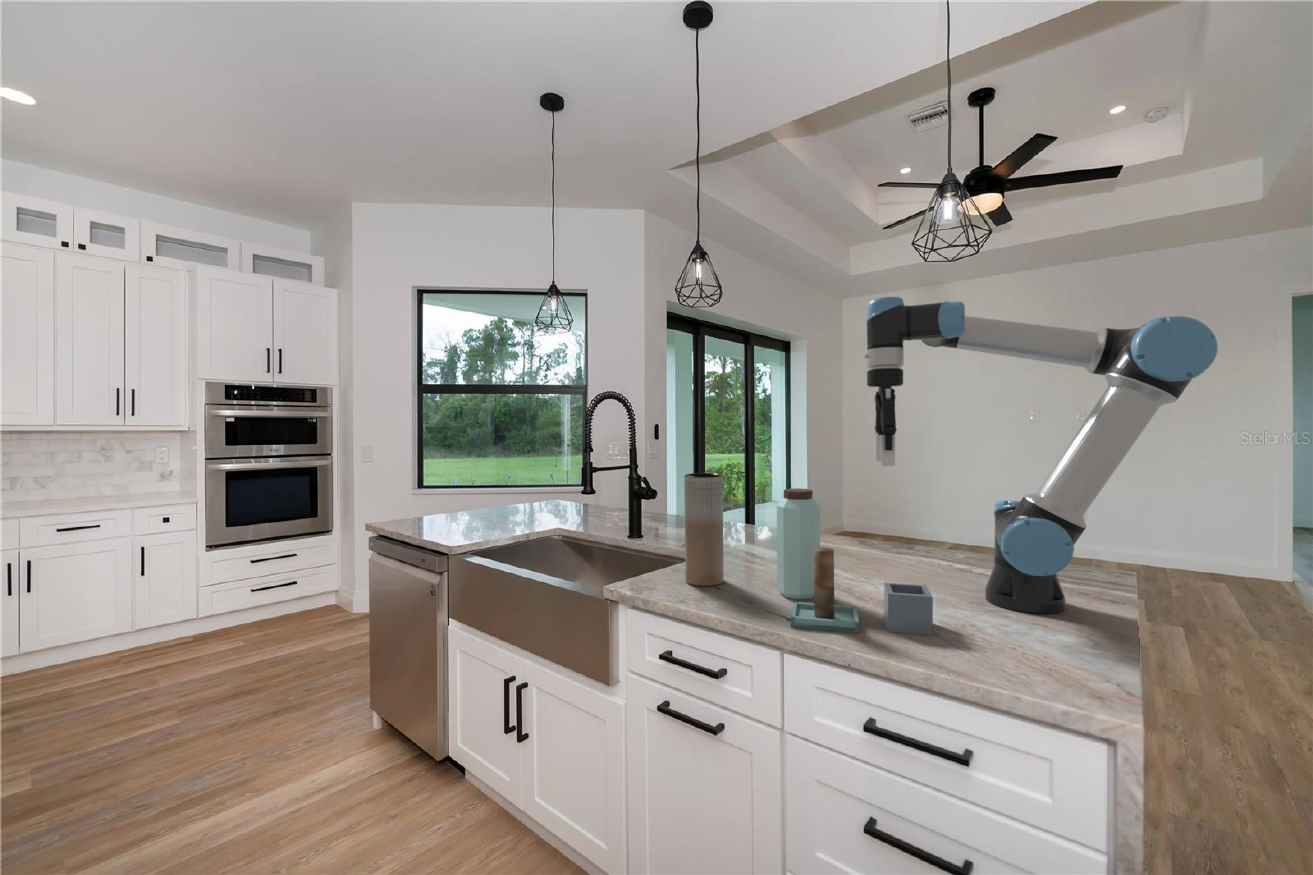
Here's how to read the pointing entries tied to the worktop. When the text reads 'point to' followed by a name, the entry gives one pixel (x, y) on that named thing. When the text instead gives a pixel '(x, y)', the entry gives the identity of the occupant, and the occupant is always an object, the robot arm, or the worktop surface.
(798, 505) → the water bottle
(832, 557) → the dowel
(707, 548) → the vase
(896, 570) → the worktop surface
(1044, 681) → the worktop surface
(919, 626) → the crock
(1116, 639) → the worktop surface
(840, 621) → the tray
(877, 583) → the worktop surface
